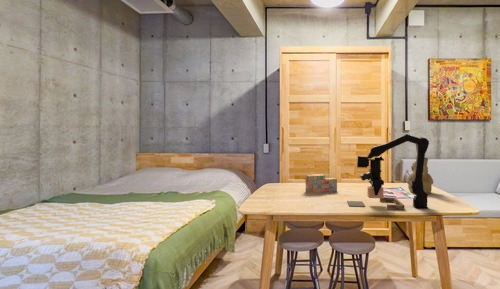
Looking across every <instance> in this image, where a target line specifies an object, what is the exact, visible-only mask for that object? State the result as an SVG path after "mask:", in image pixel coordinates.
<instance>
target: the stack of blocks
mask: <svg viewBox="0 0 500 289" xmlns="http://www.w3.org/2000/svg"><path fill="white" fill-rule="evenodd" d="M305 192H306V193H308V194H321V193H335V192H338V179H337V178H335V177H326V175H325V174H322V173H318V174H317V173H316V174H305Z"/></svg>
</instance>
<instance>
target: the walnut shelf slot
mask: <svg viewBox="0 0 500 289" xmlns="http://www.w3.org/2000/svg"><path fill="white" fill-rule="evenodd" d="M379 202H381V203H390V204H386V210H392V211H393V210H394V211H395V210H396V211H405V204H403V202H401V201H400V200H399V199H397V198H396V197H389V196H388V197H387V196H385V197H384V196H383V198H379ZM391 203H394V204H391Z"/></svg>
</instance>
